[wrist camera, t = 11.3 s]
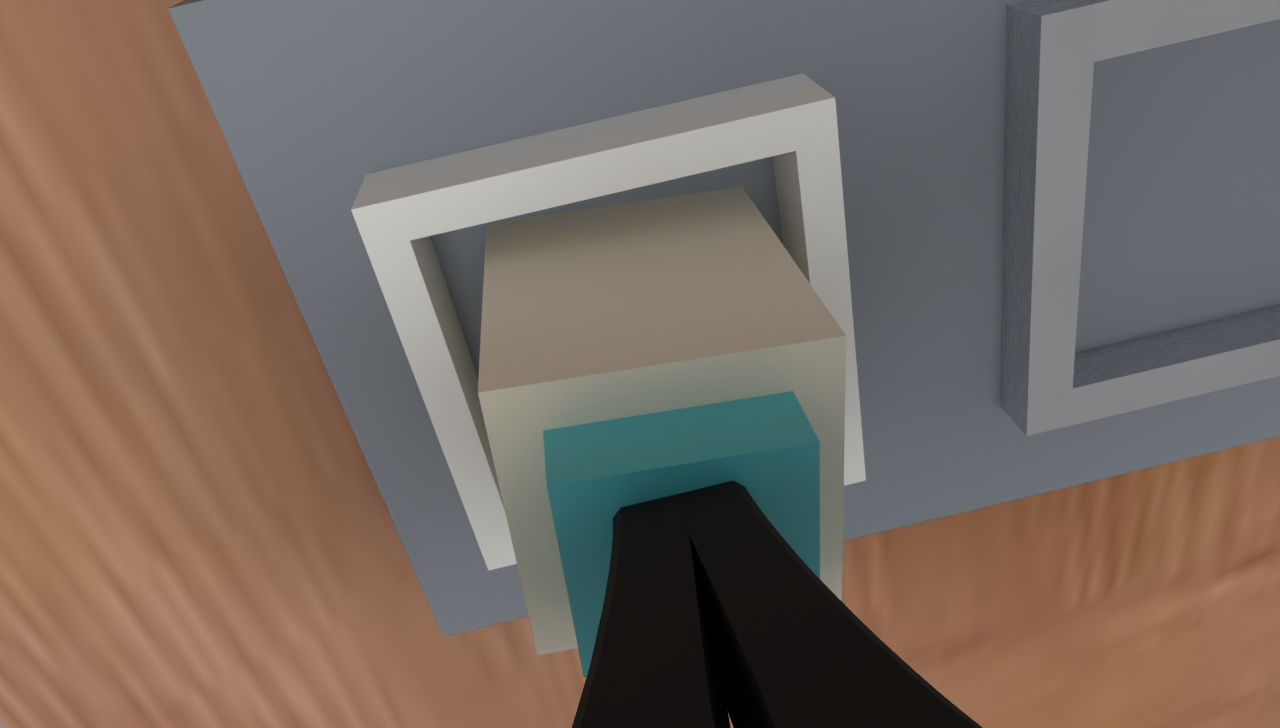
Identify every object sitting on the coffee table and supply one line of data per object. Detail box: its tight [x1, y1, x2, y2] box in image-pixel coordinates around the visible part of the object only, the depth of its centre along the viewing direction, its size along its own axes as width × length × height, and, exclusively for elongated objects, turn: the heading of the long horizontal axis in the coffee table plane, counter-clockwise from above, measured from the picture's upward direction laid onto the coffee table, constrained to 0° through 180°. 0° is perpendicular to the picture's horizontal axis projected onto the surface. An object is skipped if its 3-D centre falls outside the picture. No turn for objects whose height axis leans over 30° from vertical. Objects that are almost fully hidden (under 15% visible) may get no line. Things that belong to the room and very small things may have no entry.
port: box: [351, 73, 866, 571], centre depth 14 cm, size 7×7×2 cm
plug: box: [478, 186, 846, 677], centre depth 12 cm, size 4×4×6 cm
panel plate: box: [168, 0, 1280, 637], centre depth 15 cm, size 20×12×1 cm, turn 101°
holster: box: [1000, 0, 1280, 436], centre depth 15 cm, size 7×7×1 cm
